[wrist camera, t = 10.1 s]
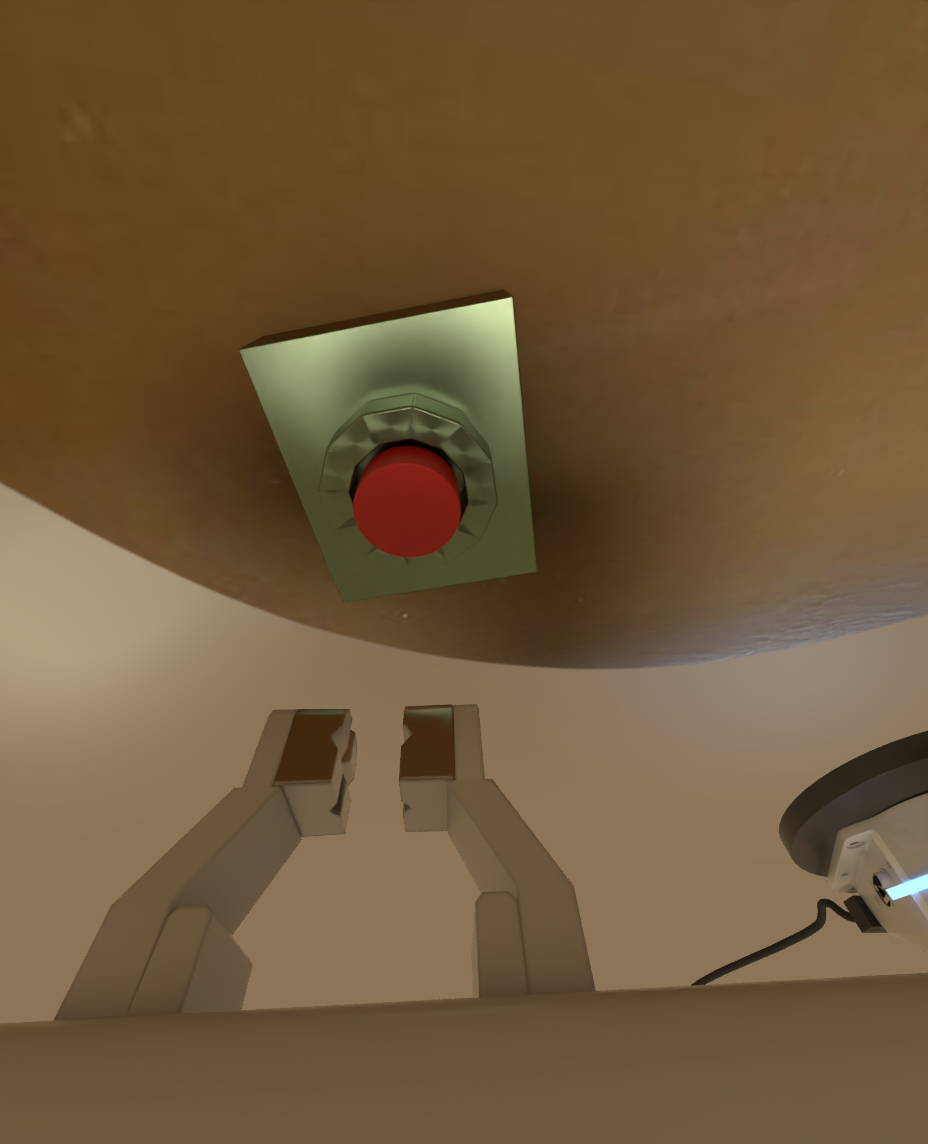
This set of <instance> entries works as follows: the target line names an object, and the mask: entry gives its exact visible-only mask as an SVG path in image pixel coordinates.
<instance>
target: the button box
mask: <svg viewBox="0 0 928 1144" xmlns="http://www.w3.org/2000/svg"><path fill="white" fill-rule="evenodd" d="M239 352H240V354H241V357H242V359H243V362H244V364H245V367H246V369H247V371H248V374H249V376H250V379H251V381H252V384H253V386H254V388H255V391H256V393H257V396H258V398H259V401H260V403H261V405H262V408H263V410H264V413H265V415H266V418H267V420H268V422H269V425H270V427H271V430H272V432H273V434H274V437H275V439H276V442H277V444H278V447H279V449H280V451H281V454H282V456H283V459H284V461H285V464H286V466H287V468H288V471H289V473H290V476H291V478H292V481H293V483H294V485H295V488H296V490H297V493H298V495H299V498H300V500H301V502H302V505H303V507H304V510H305V512H306V515H307V517H308V519H309V522H310V524H311V527H312V529H313V532H314V534H315V536H316V539H317V541H318V544H319V546H320V548H321V551H322V553H323V556H324V558H325V561H326V563H327V565H328V568H329V570H330V573H331V575H332V578H333V580H334V582H335V585H336V587H337V590H338V592H339V595H340V597H341V599H342V602H349V601H355V600H362V599H368V598H374V597H381V596H387V595H393V594H400V593H406V592H413V591H419V590H425V589H432V588H438V587H444V586H451V585H457V584H463V583H470V582H476V581H483V580H489V579H495V578H502V577H508V576H514V575H521V574H527V573H534V572H537V562H536V551H535V540H534V528H533V517H532V505H531V494H530V483H529V471H528V460H527V448H526V437H525V426H524V414H523V403H522V392H521V380H520V369H519V357H518V346H517V335H516V323H515V312H514V300H513V296H512V295H510V294H509V293H508V292H506V291H505V290H500V291H495V292H490V293H485V294H480V295H475V296H469V297H464V298H459V299H454V300H449V301H444V302H439V303H434V304H428V305H423V306H418V307H413V308H408V309H403V310H398V311H393V312H387V313H382V314H377V315H372V316H367V317H362V318H357V319H352V320H346V321H341V322H336V323H331V324H326V325H321V326H316V327H310V328H305V329H300V330H295V331H290V332H285V333H280V334H275V335H269V336H264V337H261V338H259V339H257V340H255V341H253V342H251V343H250V344H248V345H246V346H244V347H242V348H240V349H239ZM397 446H417V447H421V448H425V449H427V450H430V451H432V452H434V453H436V454H437V455H439V456H440V457H441V458H443V459H444V460H445V461H446V462H447V463H448V464H449V466H450V467H451V468H452V470H453V472H454V473H455V476H456V478H457V481H458V485H459V493H460V506H461V517H460V522H459V525H458V528H457V530H456V532H455V534H454V535H453V537H452V538H451V539H450V540H449V542H448V543H447V544H445V545H444V546H443V547H442V548H440V549H439V550H437V551H435V552H433V553H431V554H428V555H425V556H420V557H398V556H394V555H391V554H388V553H385V552H383V551H381V550H379V549H378V548H376V547H375V546H373V545H372V544H371V543H370V542H369V541H368V540H367V539H366V538H365V537H364V536H363V534H362V533H361V532H360V530H359V528H358V526H357V524H356V521H355V518H354V512H353V502H354V496H355V494H356V491H357V488H358V485H359V482H360V479H361V476H362V473H363V471H364V469H365V467H366V466H367V464H368V463H369V462H370V461H371V460H372V459H373V458H374V457H375V456H376V455H378V454H379V453H381V452H383V451H384V450H387V449H389V448H393V447H397Z"/></svg>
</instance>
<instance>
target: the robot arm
mask: <svg viewBox="0 0 928 1144" xmlns="http://www.w3.org/2000/svg"><path fill="white" fill-rule="evenodd" d="M351 724H352V717H351V712H350V709H294V710H292V709H291V710H273V711H272V713H271V714H270V715H269V717H268V718H267V721H266V724H265V727H264V730H263V732H262V735H261V737H260V740H259V743H258V746H257V748H256V751H255V754H254V757H253V759H252V762H251V765H250V768H249V771H248V773H247V776H246V778H245V781H244V784H243V787H241V788H234V789H233V790H232V791H231V792H230V793H228V794H227V795H226V796H225V797H224V798H223V799H222V800H221V801H220V802H219V803H218V804H217V805H216V806H215V807H214V808H213V809H212V810H211V811H210V812H209V813H208V814H207V815H206V816H204V817H203V818H202V819H201V820H200V821H199V822H198V823H197V824H196V825H195V826H194V827H193V828H192V829H191V830H190V831H189V832H188V833H187V834H186V835H185V836H184V837H182V838H181V840H179V842H177V843H176V844H175V845H174V846H173V847H172V848H171V849H170V850H169V851H168V852H167V853H166V854H165V855H164V856H163V857H162V858H160V859H159V860H158V861H157V863H155V864H154V865H153V866H152V867H151V868H150V869H149V870H148V871H147V872H146V873H145V874H144V875H143V876H142V877H141V878H140V879H139V880H137V881H136V883H134V884H133V885H132V886H131V887H130V888H129V889H128V890H127V891H126V892H125V893H124V894H123V895H122V896H121V897H120V898H119V899H118V900H117V901H116V902H115V903H113V904H112V905H111V907H110V909H109V911H108V913H107V915H106V917H105V919H104V921H103V923H102V925H101V927H100V929H99V931H98V933H97V935H96V937H95V939H94V941H93V943H92V945H91V947H90V949H89V951H88V953H87V955H86V957H85V959H84V961H83V963H82V965H81V967H80V969H79V971H78V973H77V975H76V977H75V979H74V981H73V983H72V985H71V987H70V989H69V991H68V993H67V995H66V997H65V999H64V1001H63V1003H62V1005H61V1007H60V1009H59V1011H58V1013H57V1015H56V1017H55V1019H54V1021H39V1022H22V1023H2V1024H0V1144H928V973H917V974H897V975H879V976H861V977H842V978H826V979H825V978H824V979H808V980H789V981H771V982H752V983H735V984H734V983H733V984H716V985H705V984H707V983H709V982H711V981H713V980H714V979H716V978H719V977H721V976H723V975H725V974H727V973H729V972H732V971H733V970H736V969H739V968H741V967H743V966H745V965H748V964H750V963H752V962H755V961H757V960H760V959H762V958H764V957H767V956H769V955H771V954H774V953H776V952H778V951H780V950H782V949H785V948H787V947H789V946H791V945H793V944H795V943H797V942H799V941H801V940H803V939H805V938H807V937H809V936H811V935H812V934H814V933H816V932H817V931H818V930H820V929H821V928H822V927H823V925H824V924H825V921H826V907H829V908H831V909H832V910H833V911H835V912H836V913H837V914H838V915H840V916H841V917H843V918H844V919H846V920H848V921H852V922H856V923H857V925H858V927H859V928H860V930H861V931H862V933H870V932H871V933H883V932H884V933H889V934H891V935H892V936H894V937H896V938H898V939H900V940H902V941H904V942H906V943H908V944H910V945H912V946H914V947H917V948H918V949H921V950H922V951H924V952H926V953H928V793H926V794H923V795H920V796H917V797H914V798H911V799H909V800H906V801H904V802H902V803H899V804H897V805H895V806H893V807H891V808H889V809H887V810H885V811H883V812H881V813H879V814H878V815H876V816H873V817H871V818H869V819H866V820H863V821H860V822H857V823H854V824H852V825H849V826H847V827H844V828H842V829H841V830H839V831H838V833H837V836H836V840H835V845H834V849H833V853H832V858H831V862H830V867H829V871H828V875H827V880H826V882H827V884H828V885H829V887H830V888H831V889H832V890H833V891H837V892H844V893H859V894H860V896H852V897H850V898H848V899H847V900H846V901H844V904H845V906H846V907H847V909H848V910H849V912H847V911H845V910H843V909H842V908H841V907H839V906H838V905H837V904H836V903H834V902H833V901H831V900H829V899H820V900H819V901H818V903H817V907H818V916H817V919H816V921H815V922H813V923H812V924H811V925H810V926H808V927H806V928H805V929H803V930H801V931H800V932H797V933H795V934H793V935H792V936H789V937H787V938H785V939H783V940H781V941H779V942H777V943H775V944H773V945H771V946H769V947H766V948H764V949H762V950H760V951H757V952H755V953H753V954H750V955H748V956H746V957H744V958H741V959H739V960H737V961H735V962H732V963H730V964H728V965H726V966H724V967H721V968H719V969H717V970H715V971H713V972H711V973H709V974H708V975H706V976H704V977H702V978H701V979H699V980H697V981H696V982H695V983H693V984H692V985H691V986H679V987H660V988H642V989H623V990H606V991H596V990H595V986H594V981H593V976H592V971H591V966H590V962H589V957H588V952H587V948H586V943H585V938H584V933H583V928H582V924H581V919H580V914H579V909H578V904H577V900H576V895H575V890H574V886H573V885H572V883H571V882H570V881H569V879H568V878H567V877H566V875H565V874H564V873H563V871H562V870H561V869H560V868H559V866H558V865H557V864H556V862H555V861H554V860H553V858H552V857H551V856H550V854H549V853H548V852H547V850H546V849H545V848H544V847H543V845H542V844H541V843H540V841H539V840H538V839H537V837H536V836H535V835H534V833H533V832H532V831H531V829H530V828H529V827H528V825H527V824H526V823H525V821H524V820H523V819H522V818H521V817H520V815H519V814H518V812H517V811H516V810H515V808H514V807H513V806H512V804H511V803H510V802H509V800H508V799H507V798H506V797H505V795H504V794H503V793H502V792H501V790H500V789H499V787H498V786H497V785H496V783H495V782H494V781H493V780H492V779H485V776H484V765H483V753H482V741H481V730H480V718H479V708H478V706H477V704H475V705H474V704H473V705H454V706H452V705H431V706H408V707H405V711H404V719H403V730H404V744H403V745H402V746H401V758H400V773H399V785H400V794H401V801H402V802H404V806H403V817H404V824H405V831H406V832H413V831H414V832H415V831H448V834H449V836H450V838H451V840H452V842H453V844H454V845H455V847H456V849H457V851H458V853H459V854H460V856H461V858H462V860H463V862H464V863H465V865H466V867H467V869H468V871H469V872H470V874H471V876H472V878H473V880H474V881H475V883H476V885H477V887H478V889H479V890H480V892H481V895H480V896H479V898H478V899H477V900H476V902H475V915H474V928H473V943H472V972H473V973H472V974H473V998H459V999H442V1000H424V1001H423V1000H422V1001H405V1002H386V1003H368V1004H350V1005H331V1006H315V1007H314V1006H313V1007H295V1008H277V1009H258V1010H241V1009H242V1005H243V1001H244V997H245V993H246V989H247V985H248V981H249V977H250V973H251V969H252V963H251V962H250V959H249V957H248V956H247V955H246V953H245V952H244V951H243V950H242V949H241V947H240V946H239V945H238V943H237V942H236V941H235V940H234V938H233V937H232V935H233V933H234V932H235V930H236V929H237V928H238V926H239V925H240V924H241V922H242V921H243V920H244V918H245V917H246V915H247V914H248V913H249V911H250V910H251V909H252V907H253V906H254V905H255V903H256V902H257V900H258V899H259V898H260V896H261V895H262V894H263V892H264V891H265V889H266V888H267V887H268V885H269V884H270V883H271V881H272V880H273V878H274V877H275V876H276V874H277V873H278V872H279V870H280V869H281V867H282V866H283V865H284V863H285V862H286V861H287V859H288V858H289V857H290V855H291V854H292V852H293V851H294V850H295V848H296V847H297V846H298V844H299V843H300V841H301V840H302V839H301V837H307V836H323V835H337V834H345V833H346V827H347V821H348V814H349V808H350V803H351V799H350V794H349V790H348V785H349V784H350V783H351V782H352V781H353V780H354V777H355V771H356V759H357V742H356V735H355V733H354V732H353V731H352V730H351Z"/></svg>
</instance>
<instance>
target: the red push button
mask: <svg viewBox="0 0 928 1144" xmlns="http://www.w3.org/2000/svg"><path fill="white" fill-rule="evenodd" d="M353 512H354V518H355V521H356V524H357V526H358V528H359V530H360V532H361V533H362V534H363V536H364V537H365V538H366V539H367V540H368V541H369V542H370V543H371V544H372V545H373V546H375V547H376V548H378V549H379V550H381V551H383V552H385V553H388V554H391V555H394V556H398V557H420V556H425V555H428V554H431V553H433V552H435V551H437V550H439V549H440V548H442V547H443V546H444V545H445V544H447V543H448V542H449V540H450V539H451V538H452V537H453V535H454V534H455V532H456V530H457V528H458V525H459V522H460V517H461V506H460V493H459V485H458V481H457V478H456V476H455V473H454V472H453V470H452V468H451V467H450V466H449V464H448V463H447V462H446V461H445V460H444V459H443V458H441V457H440V456H439V455H437V454H436V453H434V452H432V451H430V450H427V449H425V448H421V447H417V446H397V447H393V448H389V449H387V450H384V451H383V452H381V453H379V454H378V455H376V456H375V457H374V458H373V459H372V460H371V461H370V462H369V463H368V464H367V466H366V467H365V469H364V471H363V473H362V476H361V479H360V482H359V485H358V488H357V491H356V494H355V496H354V502H353Z"/></svg>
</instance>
